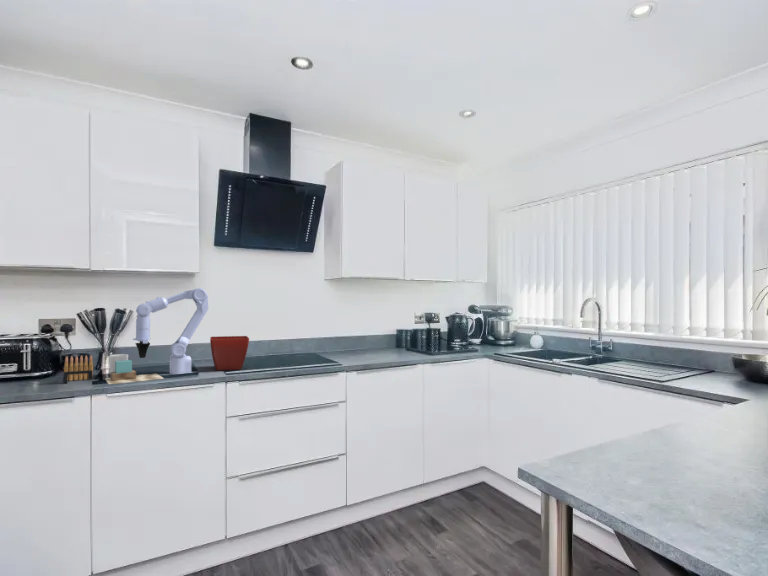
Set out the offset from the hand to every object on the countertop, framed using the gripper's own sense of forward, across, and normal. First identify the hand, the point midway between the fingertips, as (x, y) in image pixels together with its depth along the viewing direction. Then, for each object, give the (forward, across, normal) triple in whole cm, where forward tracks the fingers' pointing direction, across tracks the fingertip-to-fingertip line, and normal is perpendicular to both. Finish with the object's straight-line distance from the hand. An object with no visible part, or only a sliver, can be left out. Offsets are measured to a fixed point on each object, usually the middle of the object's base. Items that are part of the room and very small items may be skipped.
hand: (142, 357), depth 194 cm
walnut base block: (+8, +4, -8) cm, 12 cm away
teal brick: (+5, +4, -8) cm, 10 cm away
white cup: (+10, -13, -8) cm, 18 cm away
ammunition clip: (+10, -5, -24) cm, 26 cm away
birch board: (+9, +6, -4) cm, 12 cm away
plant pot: (+10, -1, +41) cm, 42 cm away
